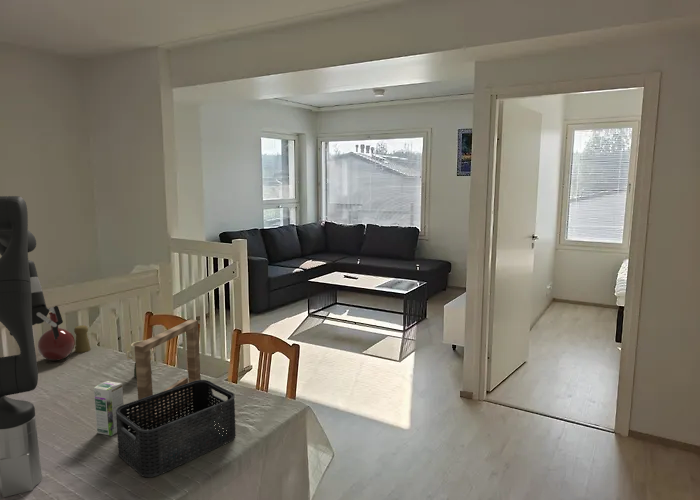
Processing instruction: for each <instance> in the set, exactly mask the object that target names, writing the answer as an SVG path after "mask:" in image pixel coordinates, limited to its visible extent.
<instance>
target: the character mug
mask: <svg viewBox="0 0 700 500" xmlns="http://www.w3.org/2000/svg"><path fill="white" fill-rule="evenodd" d="M143 341H144V340H139V341H135V342H132V343H131V344H130V350H128V351H126V359H127V360H132V362H134V371H133V376H134V377H135V378H137V375H136V361H135V347H134V346H135V345H137V344H139V343H141V342H143ZM152 349H153V350H152ZM152 349H150V360H151V359H152V357H153V354H156V353H157V350H156V349H157V346H156V347H154V348H152ZM130 354H131V355H130ZM152 374H153V372H152V370H151V375H152Z"/></svg>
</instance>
